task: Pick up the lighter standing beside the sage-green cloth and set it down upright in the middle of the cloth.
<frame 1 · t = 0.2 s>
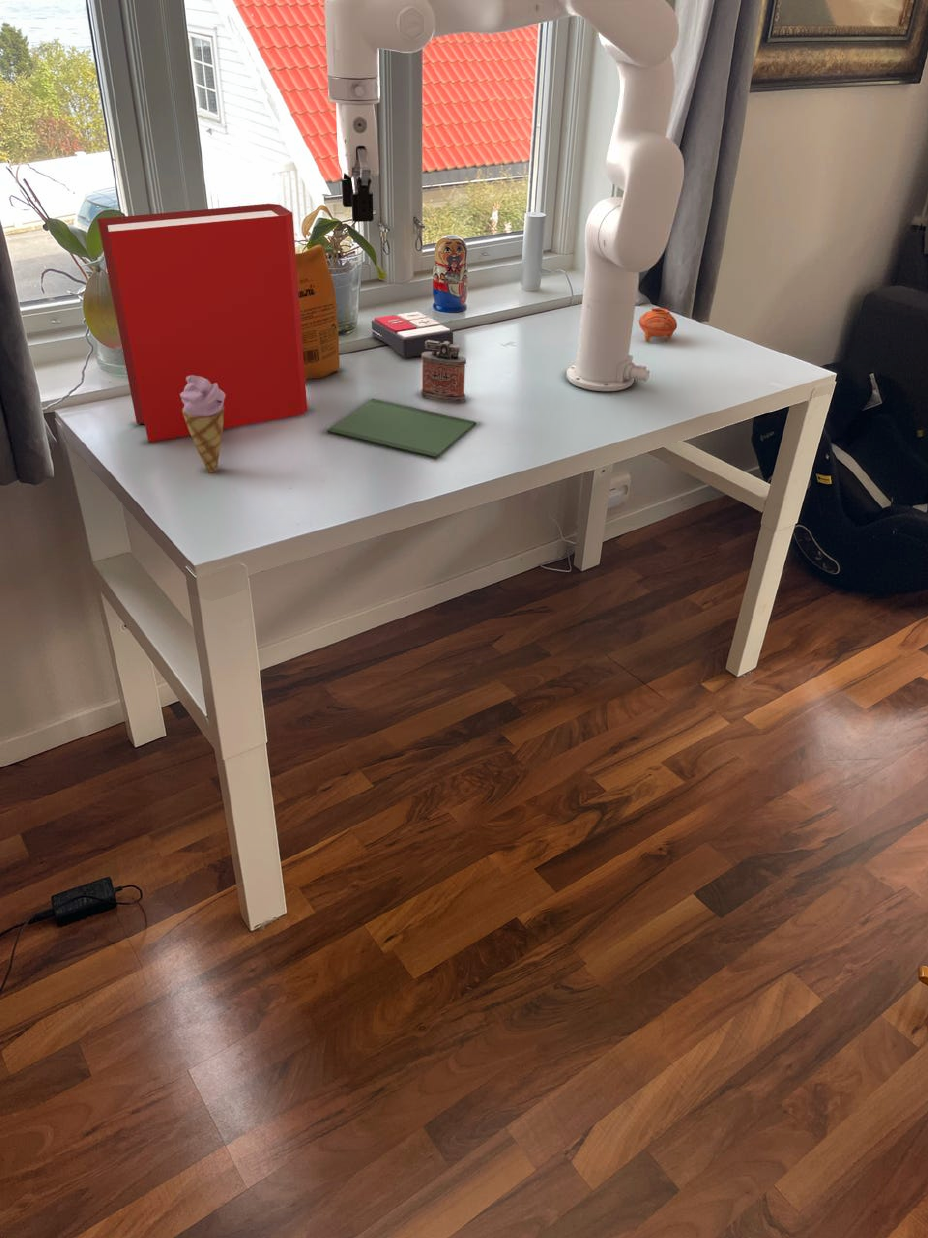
hand: (357, 213, 148), 31 cm above the table, tool pointing down, fingers open, 9 cm apart
book: (225, 419, 158), on the table
pot: (655, 339, 195), on the table
lighter: (442, 398, 167), on the table
ice cream cone: (213, 470, 143), on the table
card game box: (412, 343, 190), on the table
coffee package: (304, 372, 175), on the table
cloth: (402, 428, 156), on the table
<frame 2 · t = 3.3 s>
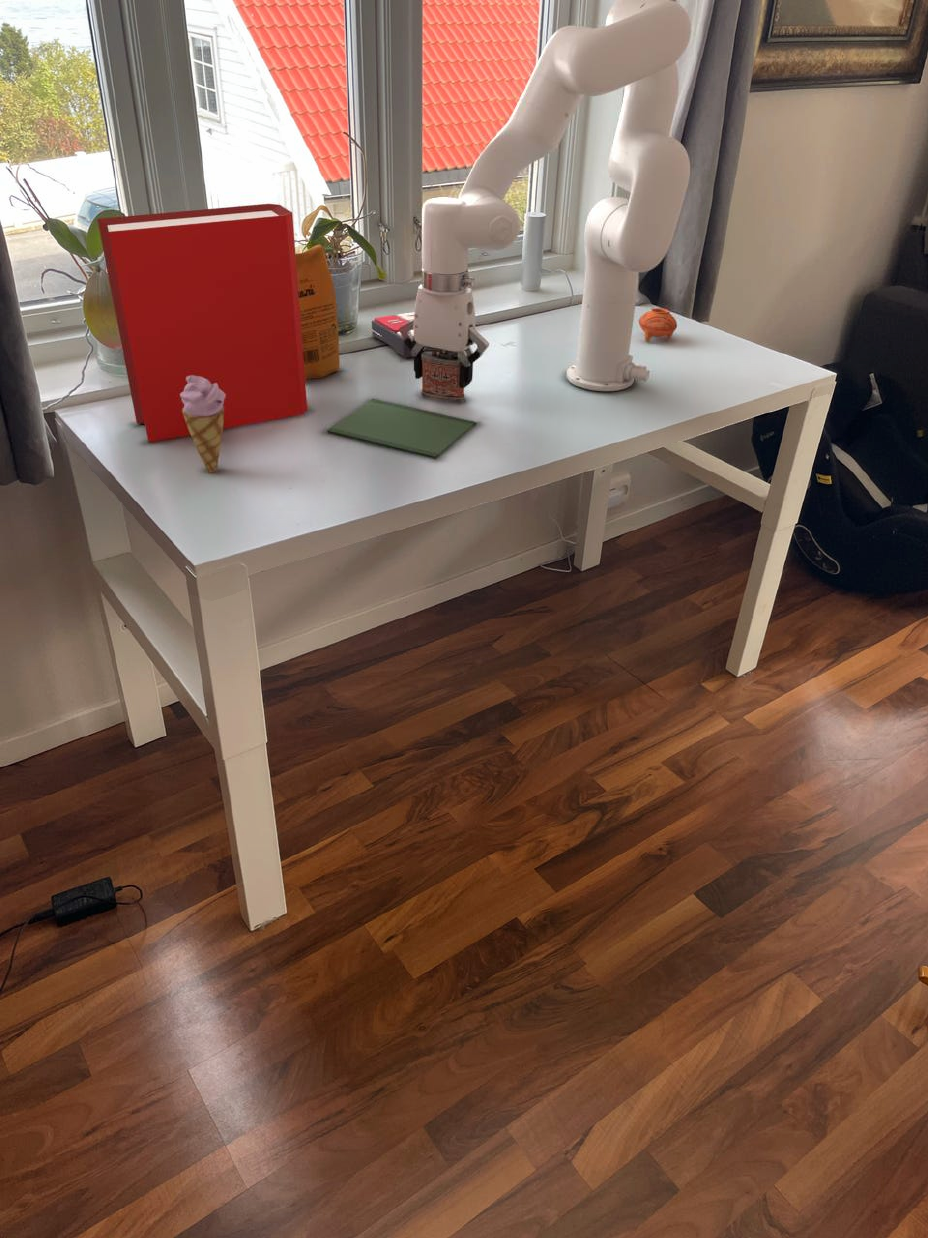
hand: (442, 380, 165), 3 cm above the table, tool pointing down, fingers closed on lighter, 8 cm apart
lighter: (442, 398, 167), on the table, touching gripper
everything else where it was.
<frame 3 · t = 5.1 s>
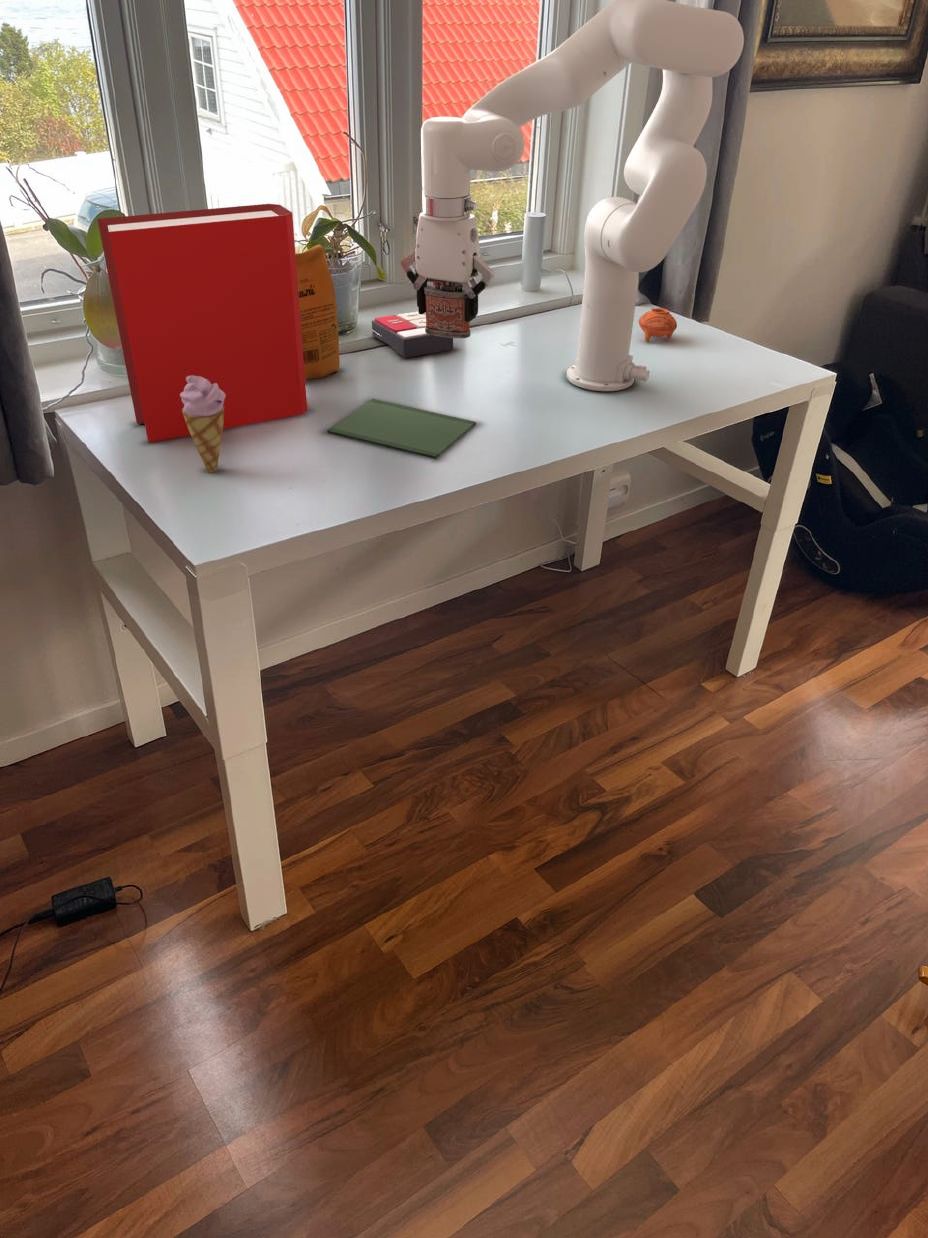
hand: (447, 315, 159), 15 cm above the table, tool pointing down, fingers closed on lighter, 8 cm apart
lighter: (447, 334, 161), point 11 cm above the table, touching gripper
everything else where it was.
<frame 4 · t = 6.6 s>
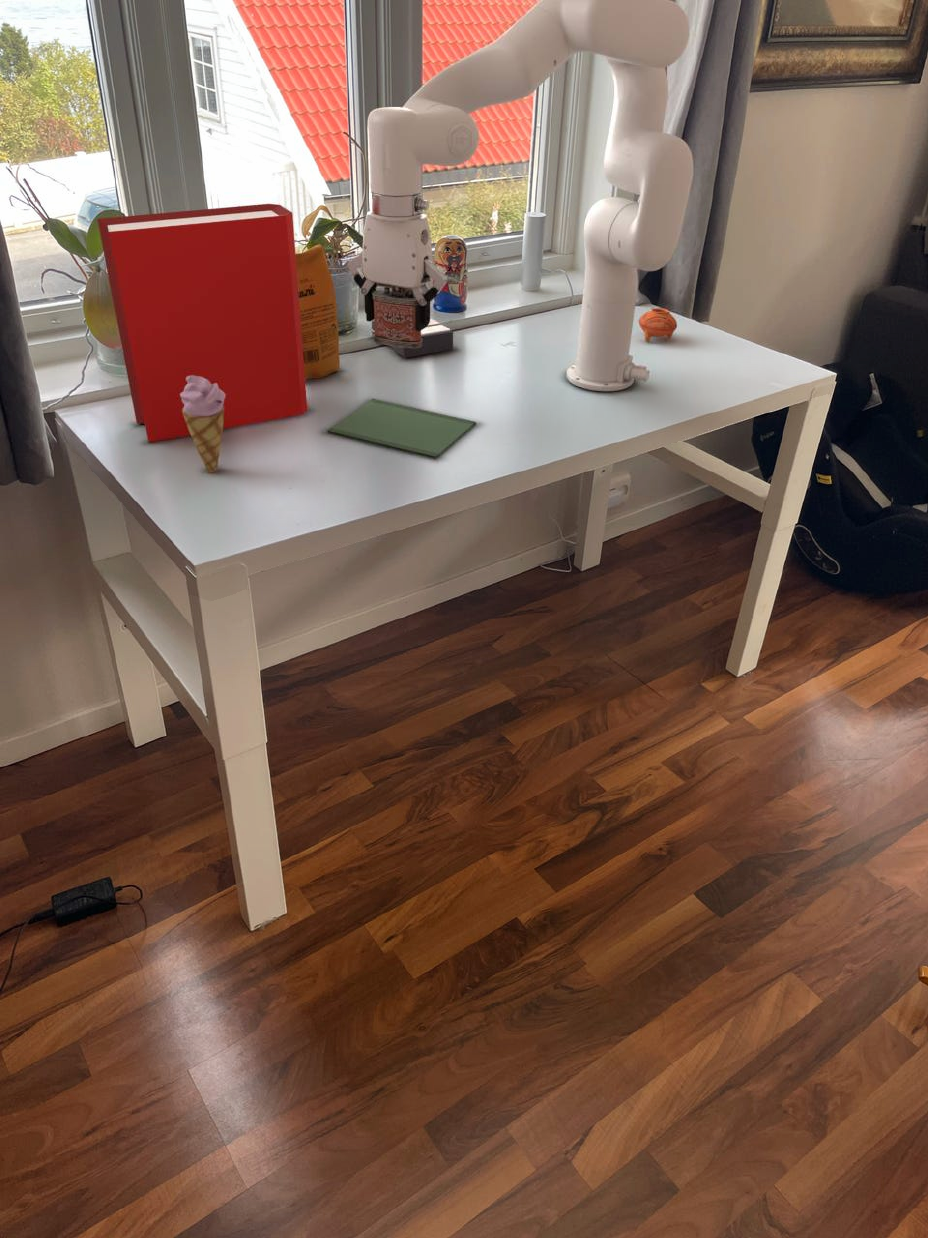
hand: (397, 323, 147), 17 cm above the table, tool pointing down, fingers closed on lighter, 8 cm apart
lighter: (397, 343, 149), point 14 cm above the table, touching gripper
everything else where it was.
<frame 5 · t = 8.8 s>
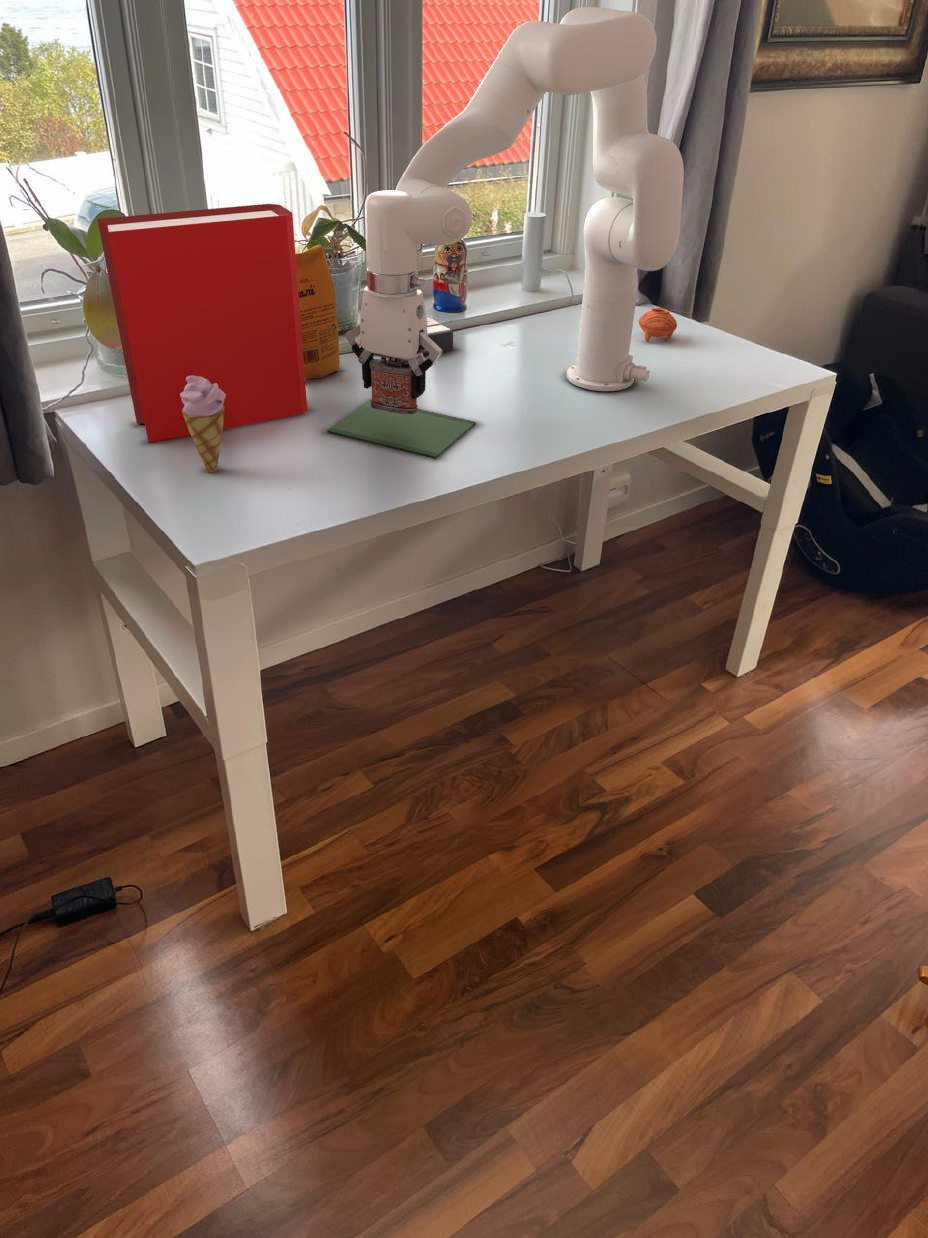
hand: (393, 390, 152), 7 cm above the table, tool pointing down, fingers closed on lighter, 8 cm apart
lighter: (394, 409, 154), point 3 cm above the table, touching gripper
everything else where it was.
when the fingers open (4 cm above the table, at t = 10.2 s): lighter stays where it is, resting on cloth.
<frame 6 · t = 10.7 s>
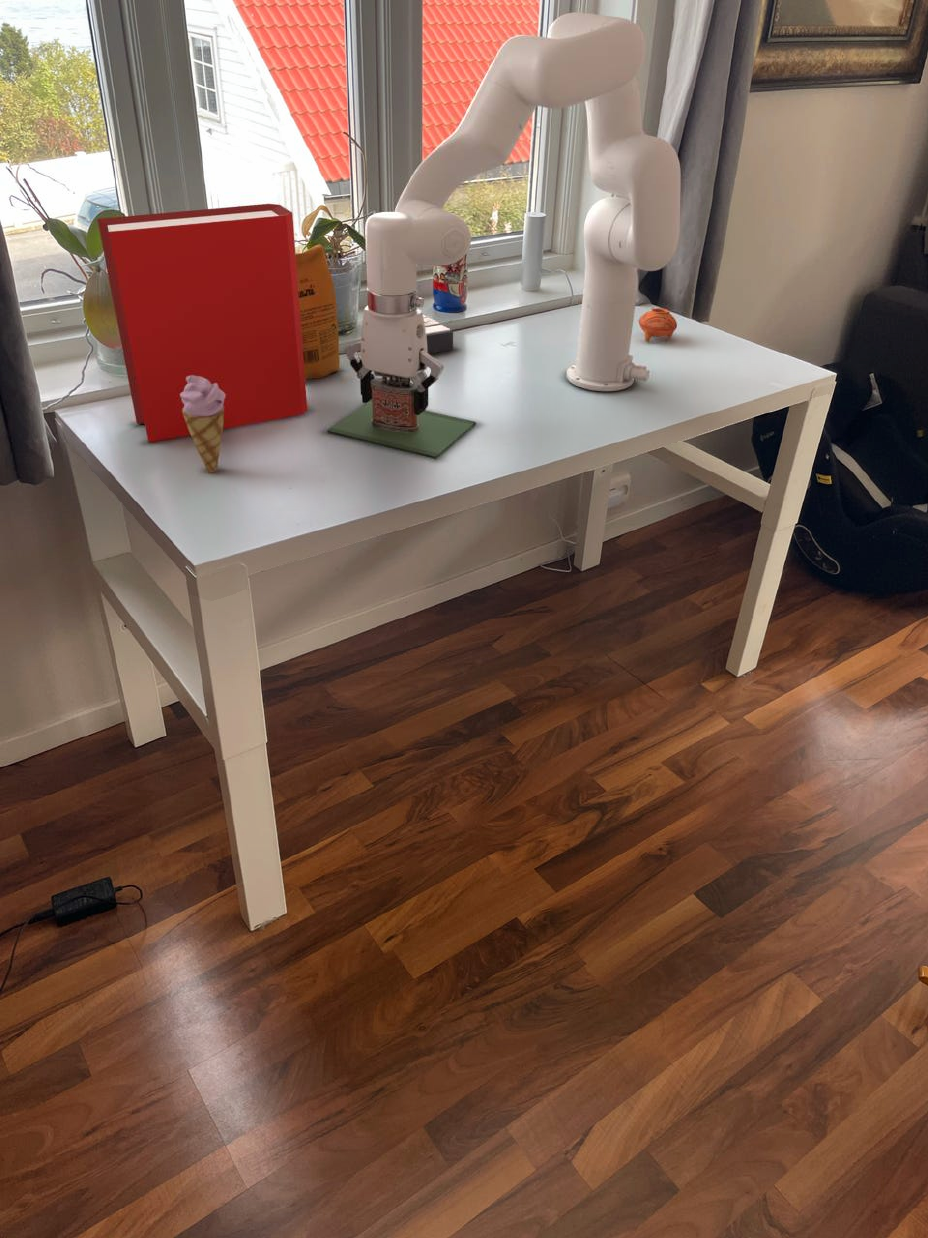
hand: (394, 405, 154), 4 cm above the table, tool pointing down, fingers open, 9 cm apart
lighter: (395, 427, 156), resting on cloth
everything else where it was.
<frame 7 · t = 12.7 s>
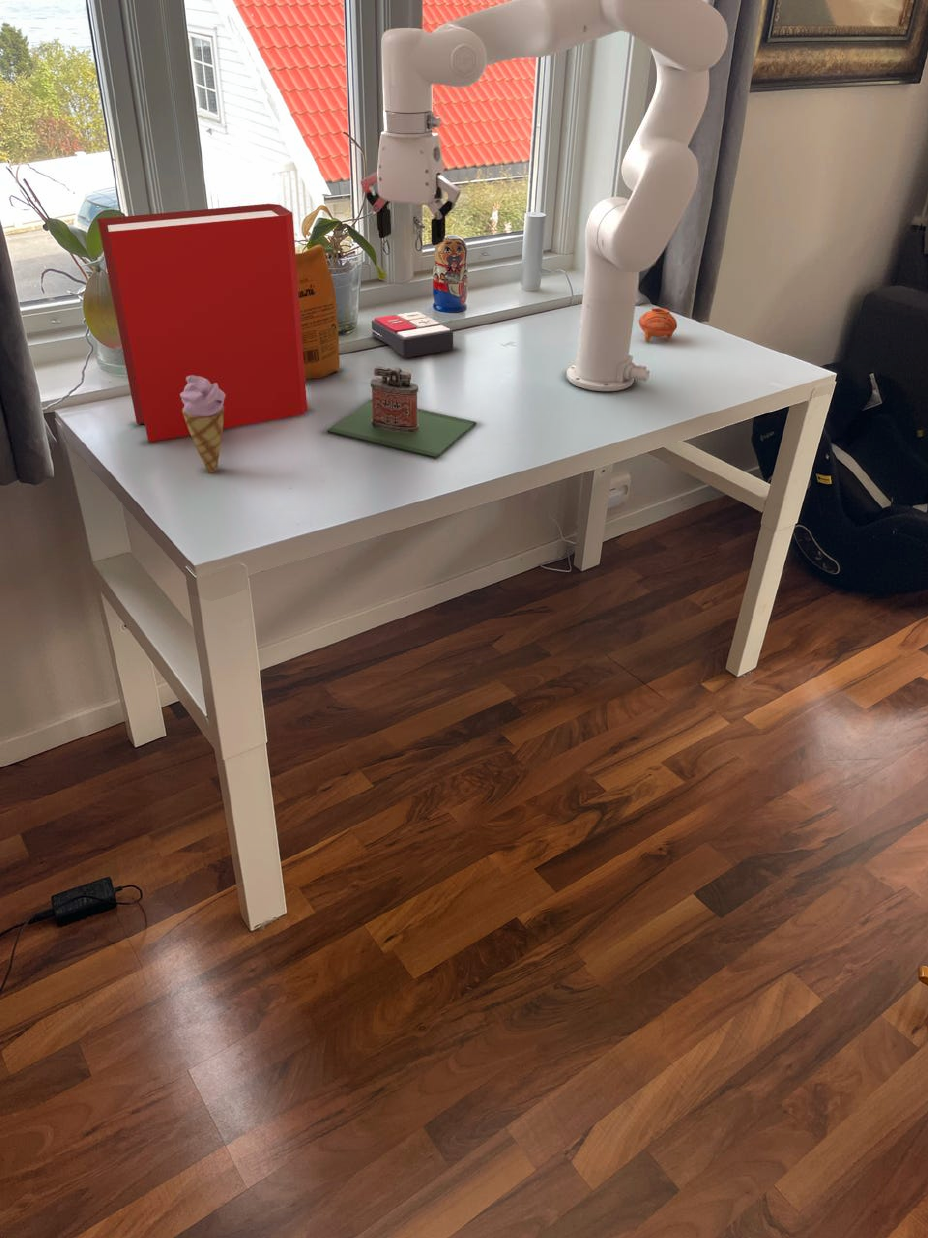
hand: (411, 239, 154), 26 cm above the table, tool pointing down, fingers open, 9 cm apart
nothing on the table moved.
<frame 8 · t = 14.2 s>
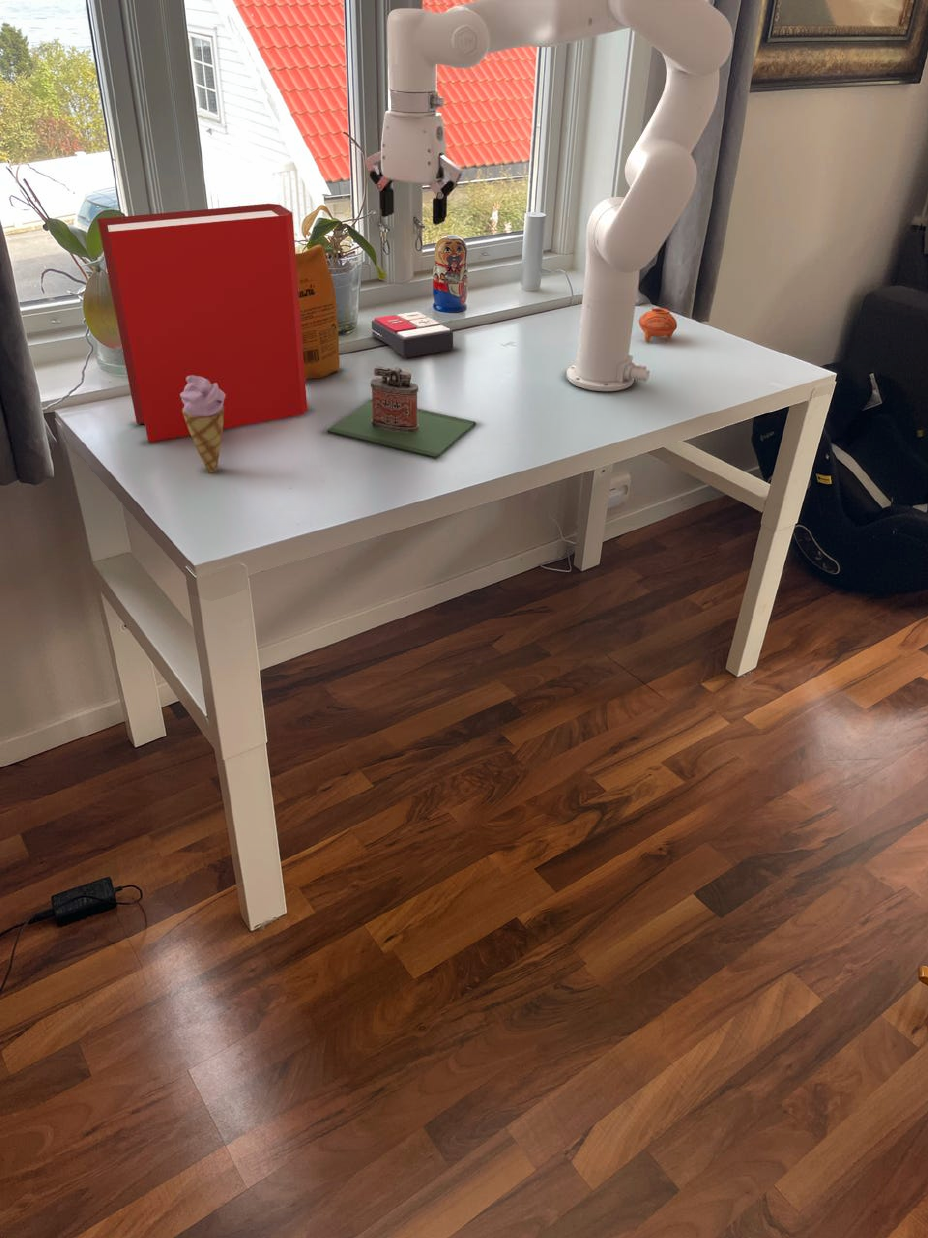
hand: (413, 218, 156), 28 cm above the table, tool pointing down, fingers open, 9 cm apart
nothing on the table moved.
at the end: lighter inside the target area on the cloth (1.3 cm from its centre), point 0.2 cm above the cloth's base; lighter tilted 0°; lighter touching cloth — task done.
